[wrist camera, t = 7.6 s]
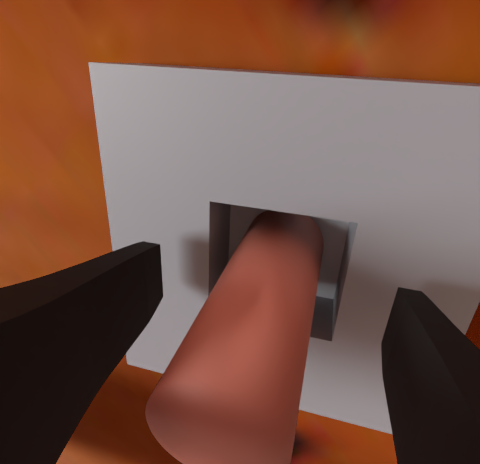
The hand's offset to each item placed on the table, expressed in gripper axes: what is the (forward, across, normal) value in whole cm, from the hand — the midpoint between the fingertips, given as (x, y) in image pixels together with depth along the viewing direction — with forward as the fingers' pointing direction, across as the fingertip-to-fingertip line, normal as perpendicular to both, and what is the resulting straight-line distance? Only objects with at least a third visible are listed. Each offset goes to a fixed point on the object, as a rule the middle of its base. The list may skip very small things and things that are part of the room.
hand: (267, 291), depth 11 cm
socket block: (+4, 0, 0) cm, 4 cm away
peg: (+3, 0, 0) cm, 3 cm away
